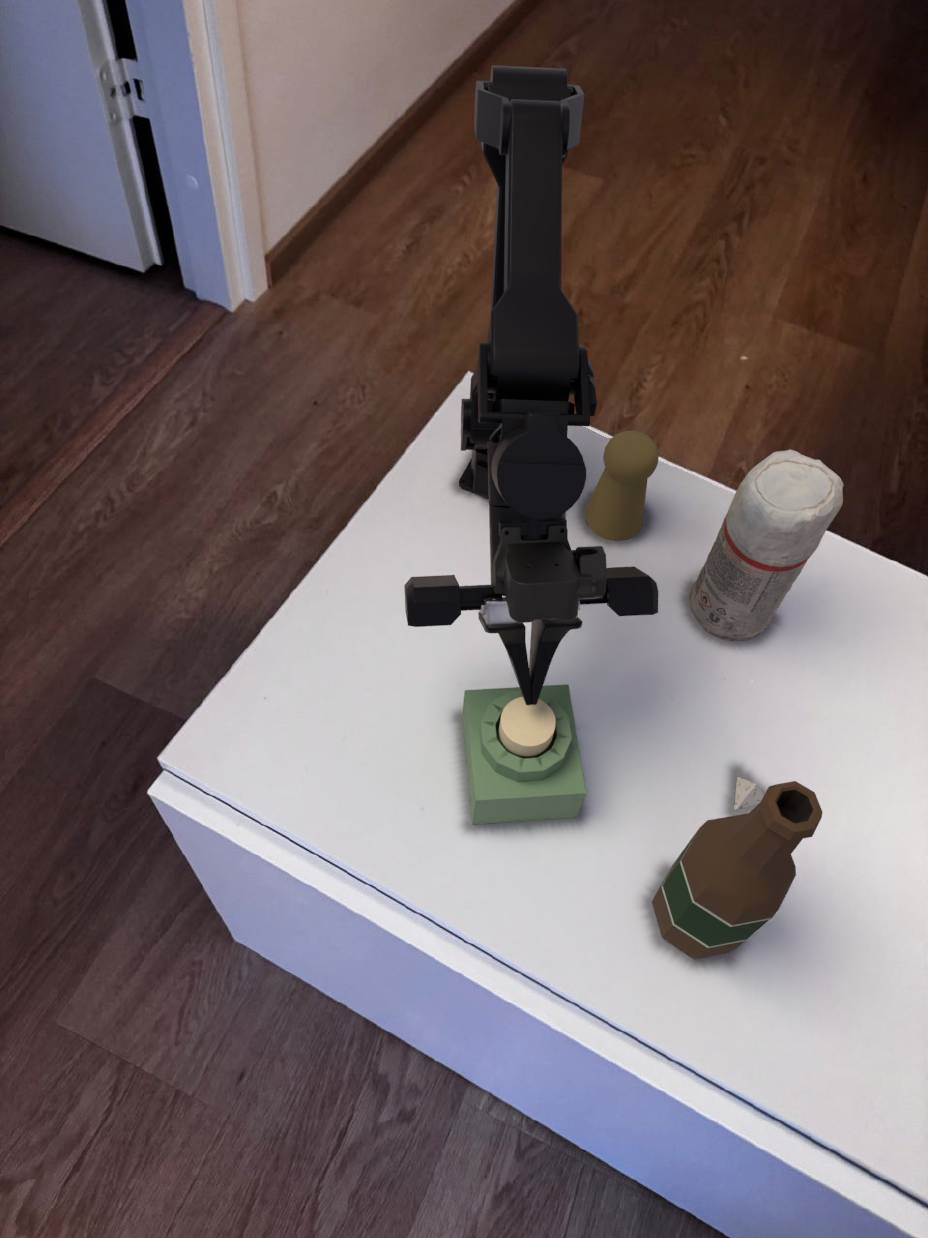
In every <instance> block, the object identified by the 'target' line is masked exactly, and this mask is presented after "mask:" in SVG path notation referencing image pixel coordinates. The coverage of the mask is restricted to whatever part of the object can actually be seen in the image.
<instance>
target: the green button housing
mask: <svg viewBox="0 0 928 1238" xmlns="http://www.w3.org/2000/svg"><path fill="white" fill-rule="evenodd" d="M520 697H523V696H522V693H521V690H520V687H519V686H515V687H514V686H513V687H497V688H482V689H481V688H480V689H479V688H478V689H465V690H464V693H463V704H462V712H461V713H462V714H461V725H462V734H463V745H464V746H463V747H464V755H465V756H464V757H465V765H466V766H465V767H466V776H467V788H468V797H469V808H470V817H471V818H470V819H471V825H488V824H490V825H491V824H502V823H503V824H504V823H516V822H517V823H518V822H531V821H546V820H561V819H575V818H577V817H578V816H579V813H580V810H581V808H582V805H583V802H584V800H585V798H586V795H587V789H586V782H585V776H584V770H583V764H582V758H581V757H582V756H581V751H580V745H579V740H578V733H577V727H576V719H575V715H574V709H573V703H572V696H571V690H570V685H569V684H550V685H543V687H542V690H541V693H540V696H539V699H540V700H542V701H543V702H545V703H546V704H547V705H548V706H549V707H550V708H551V709H552V711H553V713H554V716H555V719H556V726H555V731H554V734H553V738H552V741H551V743H550V745H549V746H548V748H547V749H546V750H545V751H543V752H542V753H540V754H538V755H535V756H529V757H525V756H519V755H516V754H514V753H512V752H511V751H509V750H508V749H507V748H506V747H505V746H504V745H503V743H502V741H501V739H500V736H499V725H500V719H501V714H502V712H503V709H504V708H505V706H506V705H507V704H508V703H509V702H511V701H512V700H514V699H516V698H520Z"/></svg>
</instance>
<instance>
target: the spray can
mask: <svg viewBox="0 0 928 1238" xmlns="http://www.w3.org/2000/svg"><path fill="white" fill-rule="evenodd" d="M844 487H845V484H844V482H843V480H842V479H841V477H840V476H839V475H838V474H837V473H836V472H834V471H833V470H832V469H831V468H829V467H828V465H826V464H825V463H823V461H822V459H814V458H812V457H809V456H806V455H804V454H801V453H800V452H798V451H796V450H793V449H787V450H779V451H774V452H772V453H771V454H770V455H768V456H766V458H764V459H762V460H761V461H760V462H758V463H757V464H756V465H754V466H753V467H752V468H751V469H750V470H749V472H748V473H747V474H746V475H745V477H744V478H743V479H742V480H741V482H740V484H739V485H738V487H737V489H736V491H735V493H734V495H733V498H732V500H731V503H730V505H729V508H728V510H727V513H726V514H725V516H724V518H723V520H722V524H721V526H720V528H719V530H718V533H717V535H716V537H715V541H714V542H713V544H712V547H711V549H710V551H709V553H708V554H707V558H706V560H705V562H704V563H703V564H704V565H703V566H702V568H701V569H700V572H699V574H698V576H697V579H696V580H695V582H694V584H693V585H692V587H691V588H690V592H689V593H688V602H689V607H690V608H691V610H692V612H693V615H694V617H695V618H696V619H697V621H698V622H699V624H700V625H701V626H702V628H703V629H705V631H706V632H708V633H709V634H711V635H714V636H716V637H717V638H720V639H721V640H725V641H731V642H732V641H734V642H735V641H736V642H737V641H747V640H750V639H752V638H757V637H759V636H760V635H761V634H762V633H763V632H764V631H765V630H766V629H767V628H768V627H769V626H770V625H771V624H772V623H773V618H774V616H775V614H776V612H777V610H778V608H780V606H781V604H782V602H783V601H784V599H785V598H786V596H787V594H788V593H789V592H790V590H791V589H792V587H793V584H794V583H795V582H796V580H797V578H798V577H799V576H800V574H801V573H802V570H804V567H805V565H806V563H808V560H809V559H810V558H811V557H812V556H813V554H814V553H815V551H816V550H817V549H818V548H819V545H820V544H821V541H822V540H823V537H824V535H825V534H826V531H827V530H828V528H829V527H830V525H831V523H832V522H833V521H834V519H835V518H836V516H837V514H838V513H839V512H840V510H841V508H842V506H843V502H844V491H843V490H844Z"/></svg>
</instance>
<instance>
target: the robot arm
mask: <svg viewBox="0 0 928 1238" xmlns="http://www.w3.org/2000/svg"><path fill="white" fill-rule="evenodd" d="M475 81H476V82H475V92H474V93H475V95H474V119H473V121H474V123H473V125H474V126H473V127H474V137H475V138H474V139H475V140H476V141H479V142H480V143H481V145H480V146H481V150H482V153H483V156H484V159H485V160H486V162H487V165H488V167H489V169H490V171H491V173H492V176H493V177H494V180H495V181H496V183H497V185H496V200H495V201H496V203H495V204H496V205H495V220H494V221H495V223H494V238H493V239H494V240H493V241H494V242H493V259H492V275H491V276H492V277H491V280H492V281H491V296H490V297H491V298H490V314H489V315H490V316H489V325H488V333H487V338H486V342H479V343H478V352H477V354H478V355H477V368H476V370H475V371H474V372H473V374H472V375H471V377H470V386H469V387H470V390H469V398H461V403H460V404H461V406H460V451H462V452H464V451H465V452H466V451H471V458H470V460H469V462H468V463H467V466H466V467H465V469H464V470H463V473H462V474H461V476H460V478H459V479H458V487H460V488H461V489H463V490H467V491H469V492H472V493H475V494H478V495H479V496H483V497H485V498H488V520H489V521H488V522H489V523H488V524H489V525H488V526H489V561H490V562H489V563H490V565H489V566H490V584H477V585H474V584H473V585H460V584H459V582H458V580H457V578H456V575H455V574H446V575H425V576H422V575H421V576H410V578H409V579H408V580H407V581H406V583H405V584H404V607H405V609H404V610H405V616H406V623H407V626H410V627H413V628H420V627H421V628H422V627H423V628H425V627H440V626H452V625H453V624H454V623H455V621H456V620H458V618H459V617H460V616H461V615H462V612H464V611H465V612H466V611H478V612H477V613H478V620H479V622H480V624H481V626H482V628H483V630H484V632H485V633H486V634H498V636H499V638H500V640H501V643H502V645H503V646H504V649H505V650H506V653H507V655H508V659H509V662H510V664H511V667H512V671H513V672H514V676H515V679H516V682H517V685H518V687H520V690H521V693H522V696H523V699H524V701H525V704H526V705H536V704H537V702H538V699H539V696H540V693H541V690H542V687H543V686H544V685H545V684H544V683H545V681H546V678H547V675H548V672H549V670H550V666H551V663H552V661H553V658H554V656H555V654H556V651H557V650H558V647H559V645H560V643H561V642H562V640H563V639H564V637H565V636H566V635H567V634H568V633H569V632H570V631H572V630H579V629H581V628H582V626H583V620H582V619H581V618H580V617H579V611H581V605H582V606H583V605H601V604H602V605H603V604H606V606H607V607H608V608H609V609H610V610H612V611H613V612H614V613H615V614H616V615H617V616H618V617H634V616H635V617H636V616H653V615H655V614H659V588H658V584H657V582H656V580H654V578H652V577H651V576H650V575H649V574H647V573H646V572H644V571H643V570H642V569H639V568H638V567H636V566H633V565H632V566H616V567H615V566H614V567H613V566H612V567H607V553H606V551H605V549H604V547H603V546H602V545H592V546H590V545H589V546H578V547H576V548H575V549H572V547H571V544H570V541H569V538H568V537H569V536H568V533H569V532H568V521H567V512H568V511H569V510H570V509H572V508H573V507H574V506H575V505H576V503H577V502H578V501H579V499H580V498H581V495H582V493H583V492H584V489H585V485H586V480H587V467H586V464H585V460H584V457H583V454H582V452H581V451H580V450H579V447H578V446H577V445H576V443H575V442H573V441H572V440H571V438H569V437H568V429H569V427H590V424H591V417H595V415H596V410H597V405H598V401H597V392H596V385H595V384H596V383H595V375H594V374H595V373H594V367H593V362H592V361H591V360H590V359H589V357H588V349H587V347H586V346H585V345H580V339H579V338H580V337H579V336H580V334H579V333H580V332H579V331H580V330H579V314H578V312H577V310H576V309H575V307H574V306H573V304H572V303H571V302H570V300H569V298H568V297H567V296H566V294H565V292H564V291H563V288H562V244H563V243H562V242H563V241H562V238H563V237H562V232H563V231H562V230H563V228H562V227H563V224H562V223H563V165H564V163H565V161H566V160H567V157H568V154H569V149H571V148H573V147H576V146H578V145H579V144H580V140H581V139H580V137H581V128H582V119H583V109H584V100H585V93H584V91H583V89H582V88H581V86H580V85H578V84H577V85H576V84H568V72H567V69H566V68H557V67H538V66H537V67H536V66H514V65H491V69H490V77H489V80H475ZM570 396H571V397H573V401H574V402H571V401H569V400H570ZM525 623H531V625H530V626H531V627H530V644H529V645H530V646H529V657H528V651H527V642H526V636H527V635H526V633H527V632H526V628H527V627H526V625H525Z"/></svg>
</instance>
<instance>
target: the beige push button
mask: <svg viewBox="0 0 928 1238" xmlns="http://www.w3.org/2000/svg"><path fill="white" fill-rule="evenodd" d="M555 726H556V719H555V716H554V713H553V711H552V709H551V708H550V707H549V706H548V705H547V704H546V703H545V702H543V701H542V700H540V699H538V702H537V704H536V705H526V704H525V701H524V699H523V697H520V698H516V699H514V700H512V701H511V702H509V703H508V704H507V705H506V706H505V708H504V709H503V712H502V714H501V719H500V725H499V736H500V739H501V741H502V743H503V745H504V746H505V747H506V748H507V749H508V750H509V751H511V752H512V753H514V754H516V755H519V756H525V757H529V756H535V755H538V754H540V753H542V752H543V751H545V750H546V749H547V748H548V746H549V745H550V743H551V741H552V738H553V734H554V731H555Z"/></svg>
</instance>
